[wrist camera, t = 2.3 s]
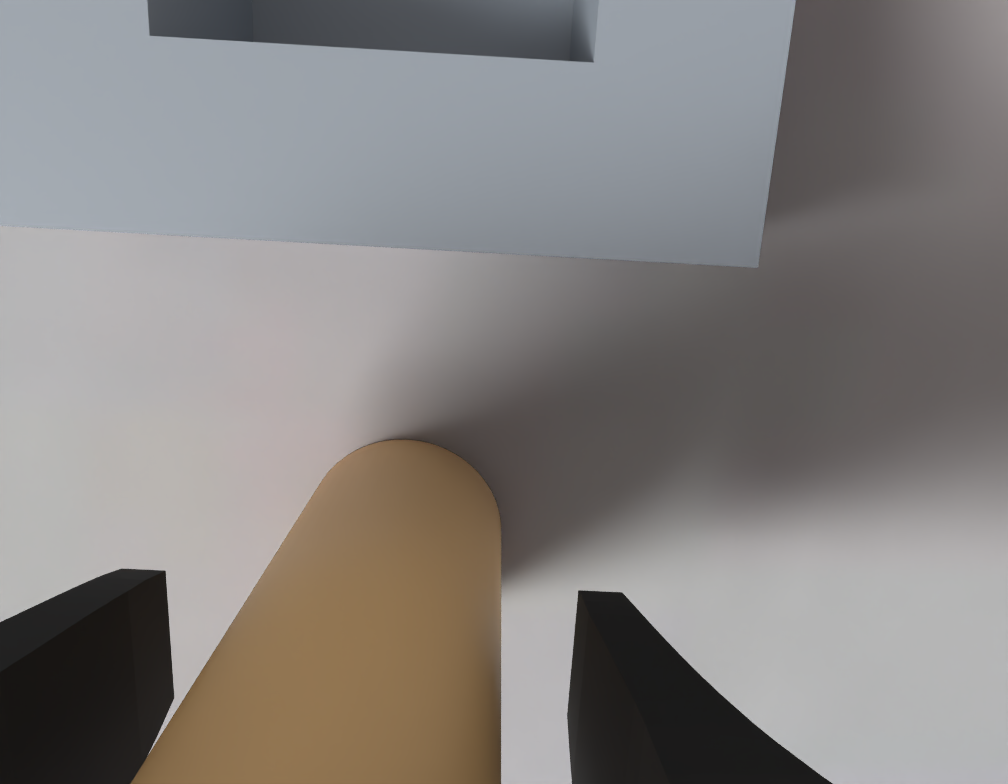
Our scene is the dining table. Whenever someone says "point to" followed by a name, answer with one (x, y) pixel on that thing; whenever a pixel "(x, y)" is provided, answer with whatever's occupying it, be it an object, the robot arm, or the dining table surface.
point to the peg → (359, 640)
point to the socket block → (399, 122)
